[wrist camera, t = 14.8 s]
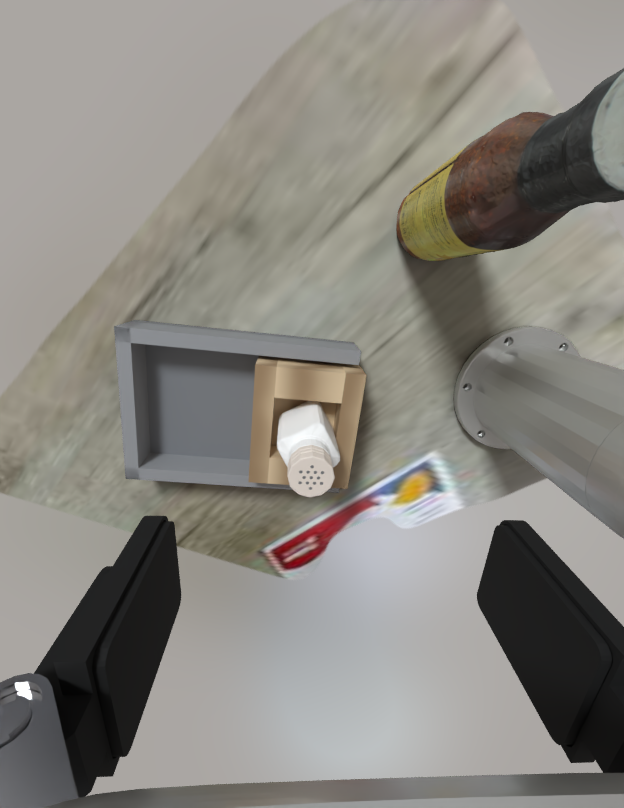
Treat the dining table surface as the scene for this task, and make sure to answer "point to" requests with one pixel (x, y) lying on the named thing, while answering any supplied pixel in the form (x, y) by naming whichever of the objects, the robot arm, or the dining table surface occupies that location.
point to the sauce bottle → (519, 179)
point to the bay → (199, 397)
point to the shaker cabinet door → (292, 386)
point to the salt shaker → (308, 448)
